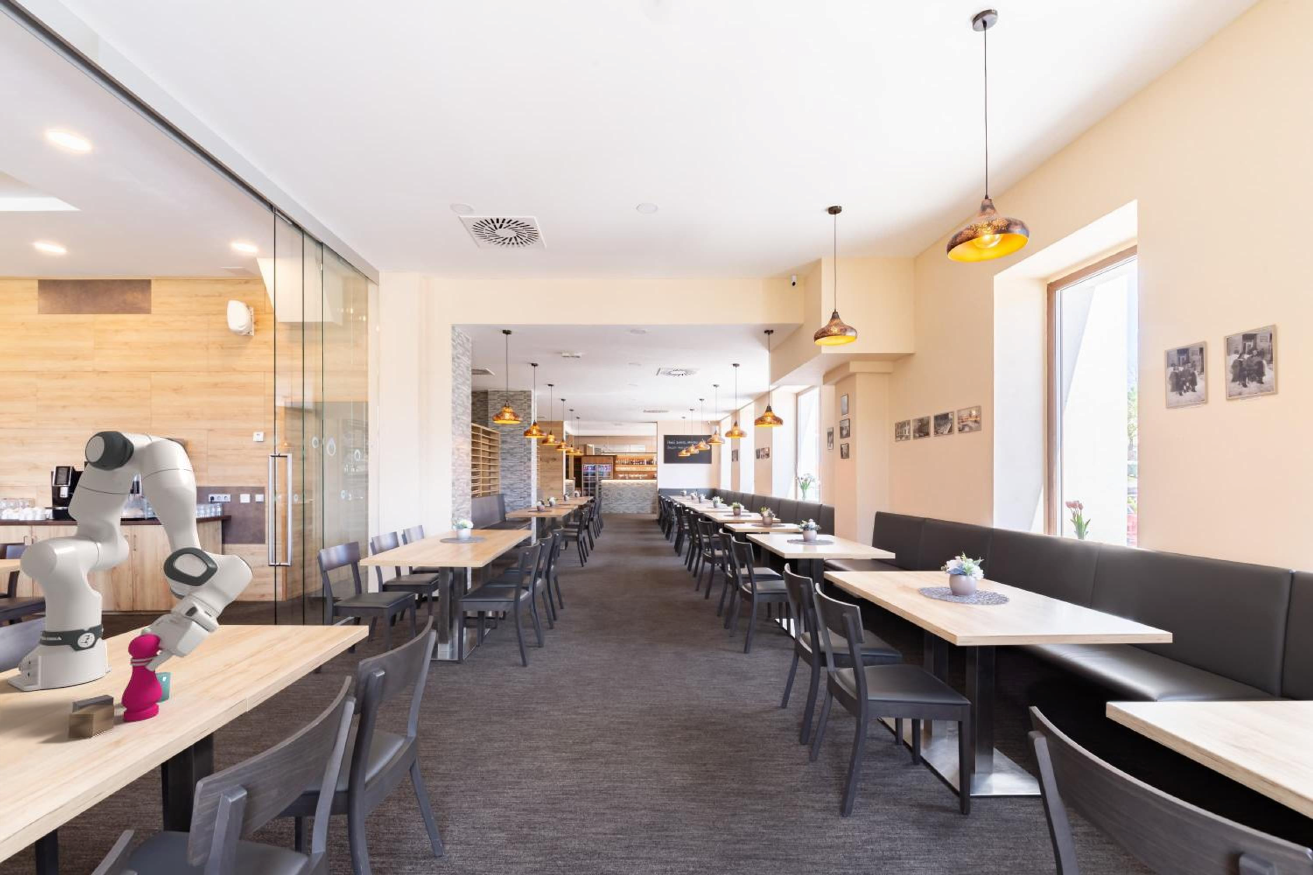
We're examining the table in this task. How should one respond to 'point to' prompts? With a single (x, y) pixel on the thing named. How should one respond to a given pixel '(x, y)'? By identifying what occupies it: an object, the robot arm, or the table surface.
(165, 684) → the teal glazed cylinder
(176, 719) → the table surface
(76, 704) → the charcoal block
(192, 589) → the robot arm
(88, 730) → the walnut block
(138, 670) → the pepper mill
